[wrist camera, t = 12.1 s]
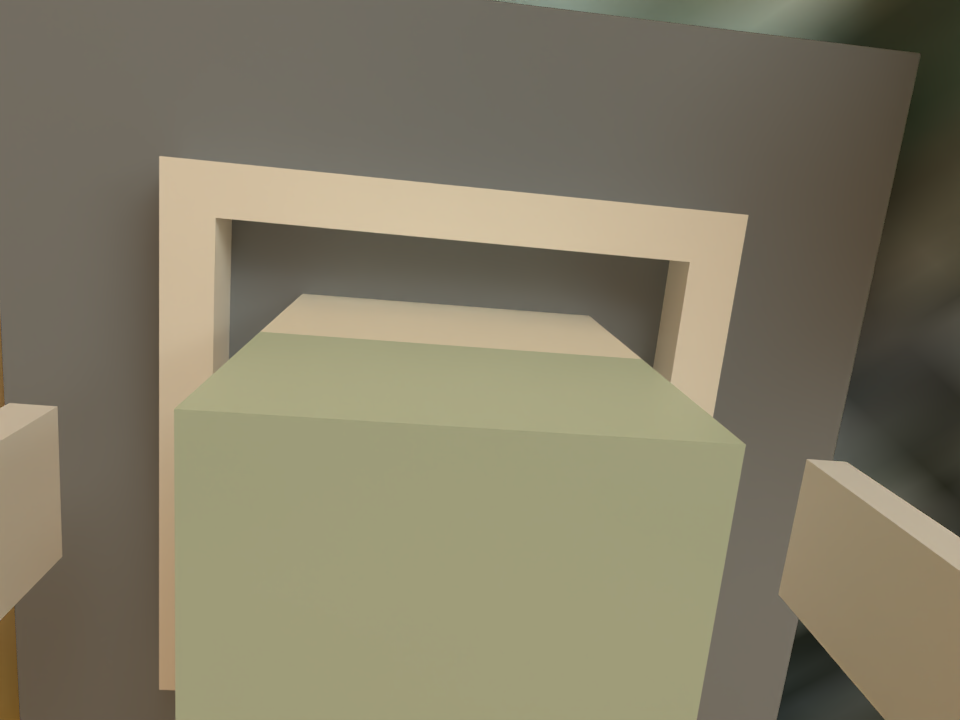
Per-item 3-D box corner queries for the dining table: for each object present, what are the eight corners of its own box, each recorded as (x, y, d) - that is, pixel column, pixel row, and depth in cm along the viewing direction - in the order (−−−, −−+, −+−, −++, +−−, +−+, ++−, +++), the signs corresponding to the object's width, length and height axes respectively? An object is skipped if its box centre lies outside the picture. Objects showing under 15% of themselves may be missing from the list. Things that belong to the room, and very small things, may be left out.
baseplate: (877, 64, 16) (962, 42, 14) (735, 756, 21) (780, 839, 18) (25, -38, 15) (-61, -86, 12) (54, 733, 19) (-7, 822, 16)
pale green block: (589, 315, 16) (746, 444, 8) (557, 572, 17) (665, 893, 9) (302, 293, 15) (174, 409, 8) (293, 559, 17) (176, 890, 9)
